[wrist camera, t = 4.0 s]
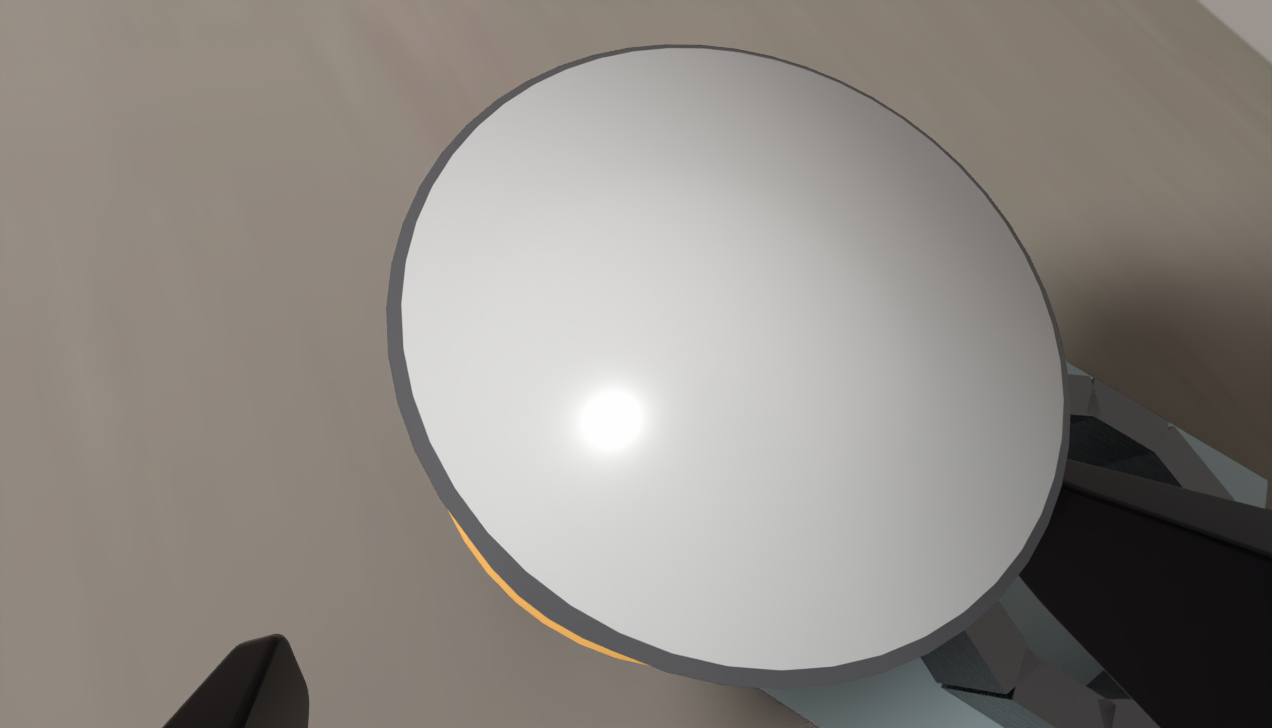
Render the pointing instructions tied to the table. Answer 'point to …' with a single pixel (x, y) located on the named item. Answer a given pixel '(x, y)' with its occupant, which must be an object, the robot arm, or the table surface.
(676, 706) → the table surface
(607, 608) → the gray canister
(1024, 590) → the blue-gray square plate
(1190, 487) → the barrel ring
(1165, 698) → the robot arm
